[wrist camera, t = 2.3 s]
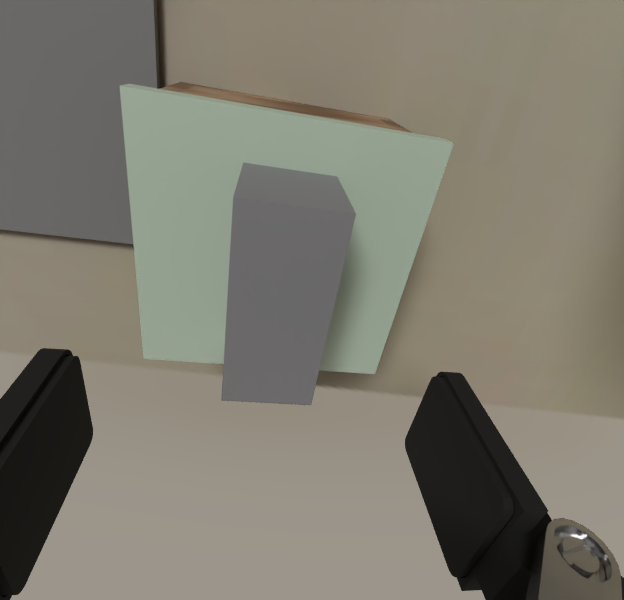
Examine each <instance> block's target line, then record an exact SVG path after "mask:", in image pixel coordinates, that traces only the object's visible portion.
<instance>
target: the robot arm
mask: <svg viewBox="0 0 624 600" xmlns="http://www.w3.org/2000/svg"><path fill="white" fill-rule="evenodd" d="M92 436H93V427H92V422H91V416H90V411H89V406H88V401H87V395H86V390H85V385H84V380H83V374H82V369H81V364H80V360H79V357H78V356H73V355H72V352H71V351H70V350H64V349H47V348H43V349H40V350H39V351H38V352H37V354H36V355H35V356H34V357H33V359H32V360H31V361H30V363H29V364H28V365H27V366H26V367H25V369H24V370H23V371H22V373H21V374H20V375H19V376H18V378H17V379H16V380H15V382H14V383H13V384H12V385H11V386H10V388H9V389H8V390H7V392H6V393H5V394H4V395H3V397H2V398H1V399H0V600H10V598H11V596H12V595H18V594H19V593H20V592H21V591H22V589H23V588H24V586H25V584H26V582H27V580H28V578H29V576H30V573H31V571H32V569H33V567H34V565H35V563H36V561H37V558H38V556H39V554H40V552H41V550H42V548H43V545H44V543H45V541H46V539H47V537H48V535H49V532H50V530H51V528H52V526H53V524H54V522H55V519H56V517H57V515H58V513H59V511H60V509H61V506H62V504H63V502H64V500H65V498H66V496H67V493H68V491H69V489H70V487H71V484H72V483H73V480H74V478H75V476H76V474H77V472H78V470H79V467H80V465H81V463H82V461H83V458H84V457H85V454H86V452H87V450H88V448H89V446H90V443H91V440H92ZM405 448H406V452H407V454H408V457H409V460H410V463H411V466H412V468H413V471H414V474H415V477H416V480H417V482H418V485H419V488H420V490H421V494H422V496H423V499H424V502H425V505H426V507H427V510H428V513H429V516H430V518H431V521H432V524H433V527H434V530H435V533H436V535H437V538H438V541H439V543H440V546H441V549H442V552H443V554H444V558H445V560H446V563H447V566H448V568H449V571H450V572H451V574H452V575H453V576H454V577H457V579H458V582H459V585H460V587H461V590H462V591H466V590H467V591H468V590H482V592H483V594H484V597H485V599H486V600H624V578H623V577H622V576H621V574H620V570H619V566H618V564H617V562H616V560H615V558H614V556H613V554H612V553H611V551H610V550H609V549H608V547H607V546H606V545H605V544H604V542H602V540H601V539H599V538H598V537H597V536H596V535H595V534H594V533H593V532H592V531H590V530H589V529H587V528H586V527H584V526H583V525H581V524H579V523H577V522H575V521H572V520H568V519H564V518H560V519H554V520H553V521H552V520H551V518H550V517H549V515H548V513H547V512H548V510H547V508H546V507H545V505H544V503H543V502H542V500H541V498H540V497H539V495H538V494H537V492H536V491H535V489H534V487H533V486H532V484H531V483H530V481H529V479H528V478H527V476H526V475H525V473H524V471H523V470H522V468H521V467H520V465H519V464H518V462H517V461H516V459H515V457H514V455H513V454H512V453H511V451H510V449H509V448H508V446H507V445H506V443H505V441H504V440H503V438H502V436H501V435H500V433H499V432H498V430H497V429H496V427H495V425H494V424H493V422H492V420H491V419H490V417H489V416H488V414H487V412H486V411H485V409H484V408H483V406H482V405H481V403H480V401H479V400H478V398H477V397H476V395H475V393H474V392H473V390H472V389H471V387H470V385H469V384H468V382H467V381H466V379H465V377H464V376H463V375H462V374H461V373H453V372H439V373H438V374H437V376H436V377H433V378H432V379H431V381H430V383H429V385H428V388H427V390H426V392H425V394H424V397H423V399H422V401H421V404H420V406H419V408H418V411H417V413H416V416H415V418H414V420H413V422H412V424H411V427H410V429H409V431H408V434H407V436H406V439H405Z"/></svg>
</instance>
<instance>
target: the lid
mask: <svg viewBox="0 0 624 600" xmlns="http://www.w3.org/2000/svg"><path fill="white" fill-rule="evenodd" d="M120 97H121V108H122V119H123V131H124V142H125V153H126V165H127V176H128V187H129V199H130V210H131V221H132V232H133V244H134V255H135V266H136V278H137V289H138V300H139V312H140V323H141V334H142V345H143V357H144V359H157V360H171V361H186V362H201V363H216V364H224V365H223V383H222V401H241V402H260V403H279V404H299V405H311V403H312V399H313V394H314V390H315V386H316V382H317V378H318V373H319V370H320V371H335V372H349V373H364V374H375V372H376V369H377V366H378V364H379V361H380V358H381V355H382V352H383V349H384V346H385V343H386V340H387V337H388V334H389V331H390V328H391V326H392V323H393V320H394V317H395V314H396V311H397V308H398V305H399V302H400V299H401V296H402V293H403V291H404V288H405V285H406V282H407V279H408V276H409V273H410V270H411V267H412V264H413V261H414V258H415V255H416V253H417V250H418V247H419V244H420V241H421V238H422V235H423V232H424V229H425V226H426V223H427V220H428V217H429V215H430V212H431V209H432V206H433V203H434V200H435V197H436V194H437V191H438V188H439V185H440V182H441V180H442V177H443V174H444V171H445V168H446V165H447V162H448V159H449V156H450V153H451V150H452V147H453V144H454V143H452V142H450V141H448V140H446V139H444V138H439V137H433V136H427V135H422V134H416V133H410V132H404V131H399V130H393V129H387V128H381V127H376V126H370V125H364V124H358V123H353V122H347V121H341V120H335V119H330V118H324V117H318V116H312V115H307V114H301V113H295V112H290V111H284V110H278V109H272V108H267V107H261V106H255V105H249V104H244V103H238V102H232V101H226V100H221V99H215V98H209V97H203V96H198V95H192V94H186V93H180V92H175V91H169V90H163V89H157V88H152V87H146V86H140V85H134V84H125V85H121V86H120Z"/></svg>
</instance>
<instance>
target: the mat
mask: <svg viewBox="0 0 624 600" xmlns="http://www.w3.org/2000/svg"><path fill="white" fill-rule="evenodd" d="M125 84H134V85H140V86H146V87H152V88H157V89H160V66H159V41H158V15H157V0H0V229H1V230H10V231H19V232H28V233H37V234H46V235H55V236H64V237H73V238H82V239H91V240H100V241H108V242H117V243H126V244H133V232H132V221H131V210H130V199H129V187H128V176H127V165H126V153H125V142H124V131H123V119H122V108H121V97H120V86H121V85H125Z"/></svg>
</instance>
